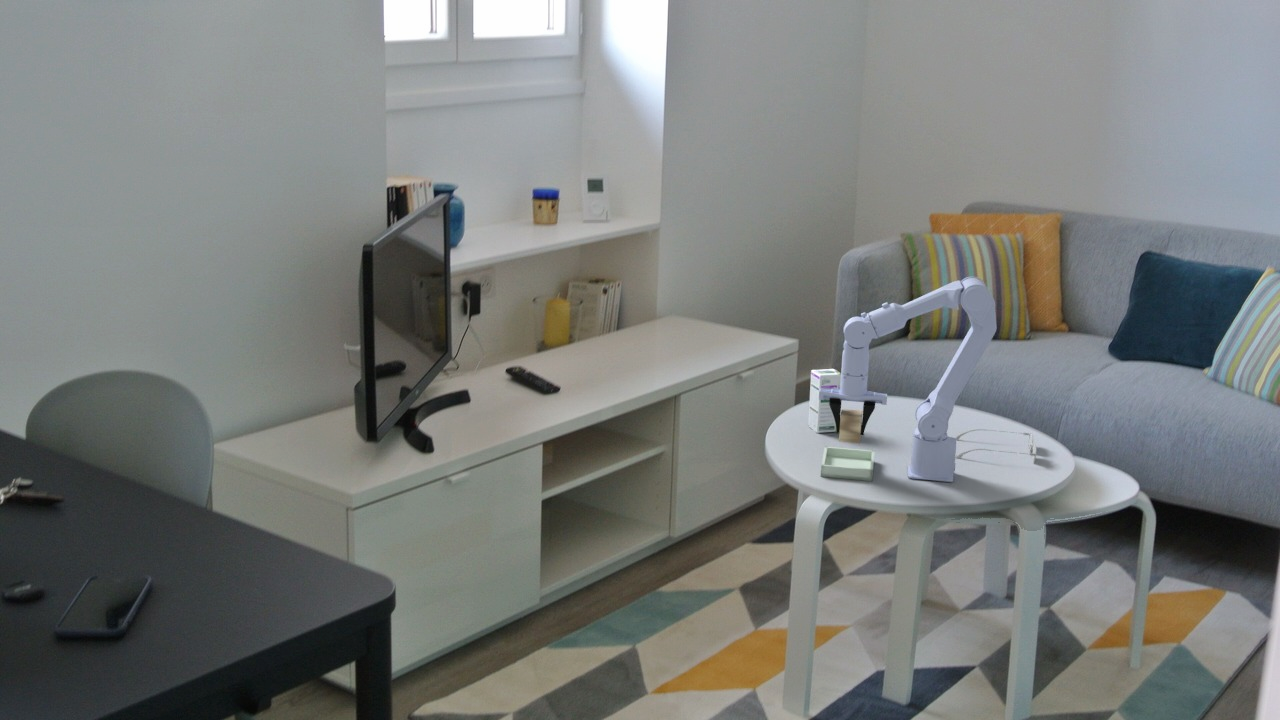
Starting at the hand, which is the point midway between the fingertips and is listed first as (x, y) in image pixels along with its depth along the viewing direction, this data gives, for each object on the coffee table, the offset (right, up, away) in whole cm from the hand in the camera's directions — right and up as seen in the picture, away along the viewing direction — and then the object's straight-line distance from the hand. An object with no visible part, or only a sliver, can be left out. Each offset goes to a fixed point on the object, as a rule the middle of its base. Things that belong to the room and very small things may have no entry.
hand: (850, 432), depth 276 cm
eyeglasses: (+35, -6, +16) cm, 39 cm away
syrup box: (-2, -1, +29) cm, 29 cm away
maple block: (0, -1, +1) cm, 2 cm away
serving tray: (0, -8, +2) cm, 8 cm away
